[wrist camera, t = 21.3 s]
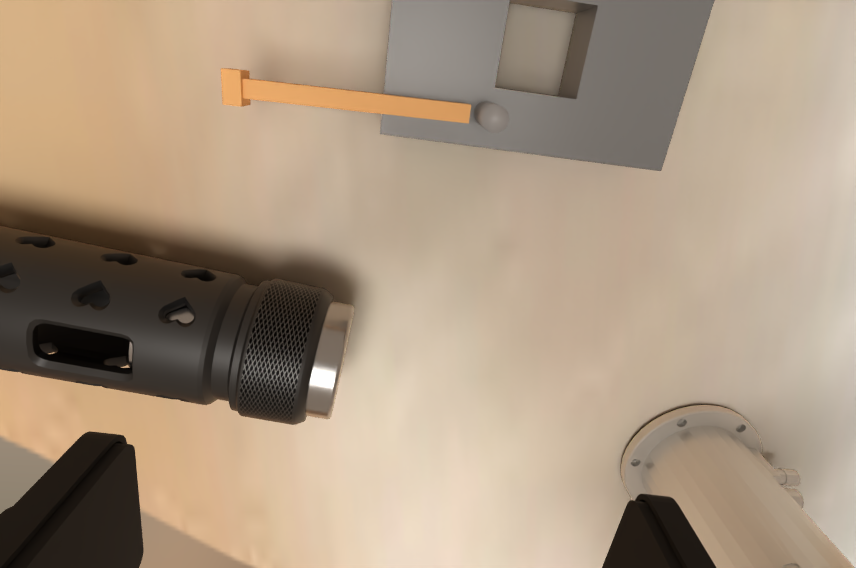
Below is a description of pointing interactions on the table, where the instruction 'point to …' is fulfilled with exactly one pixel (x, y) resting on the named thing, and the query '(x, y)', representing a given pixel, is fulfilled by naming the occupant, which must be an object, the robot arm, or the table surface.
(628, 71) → the plate
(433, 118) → the orange peg
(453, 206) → the table surface
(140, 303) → the muzzle brake
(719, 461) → the robot arm
